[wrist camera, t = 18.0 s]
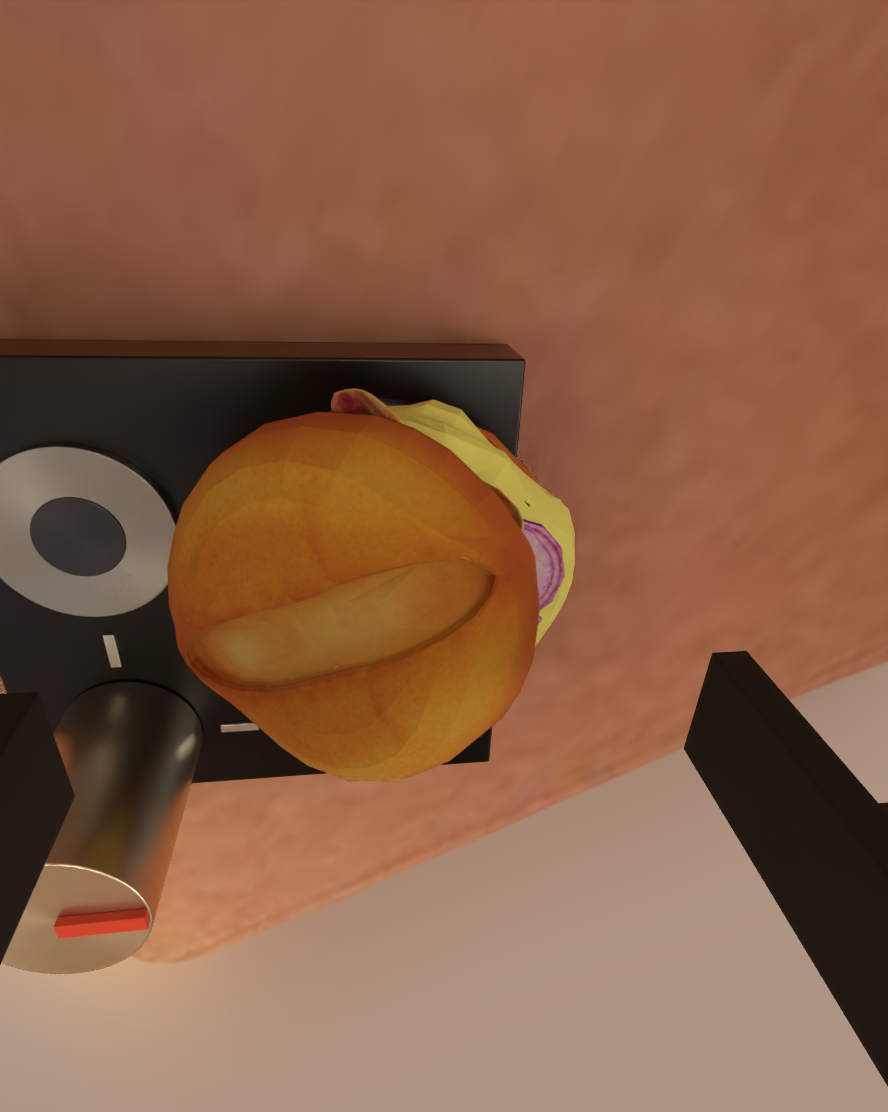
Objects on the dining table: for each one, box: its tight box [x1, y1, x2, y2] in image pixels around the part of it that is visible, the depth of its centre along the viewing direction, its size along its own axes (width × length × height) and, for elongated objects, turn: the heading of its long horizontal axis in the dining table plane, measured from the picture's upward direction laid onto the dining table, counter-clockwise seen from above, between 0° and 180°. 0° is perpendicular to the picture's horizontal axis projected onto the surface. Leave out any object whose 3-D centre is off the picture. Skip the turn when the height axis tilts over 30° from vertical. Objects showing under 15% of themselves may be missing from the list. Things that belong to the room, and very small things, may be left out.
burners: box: [0, 402, 405, 617], centre depth 21 cm, size 8×17×1 cm, turn 88°
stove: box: [0, 339, 525, 783], centre depth 24 cm, size 19×19×3 cm
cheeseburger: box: [167, 389, 575, 781], centre depth 18 cm, size 10×11×10 cm
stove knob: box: [1, 682, 203, 974], centre depth 21 cm, size 5×5×8 cm
